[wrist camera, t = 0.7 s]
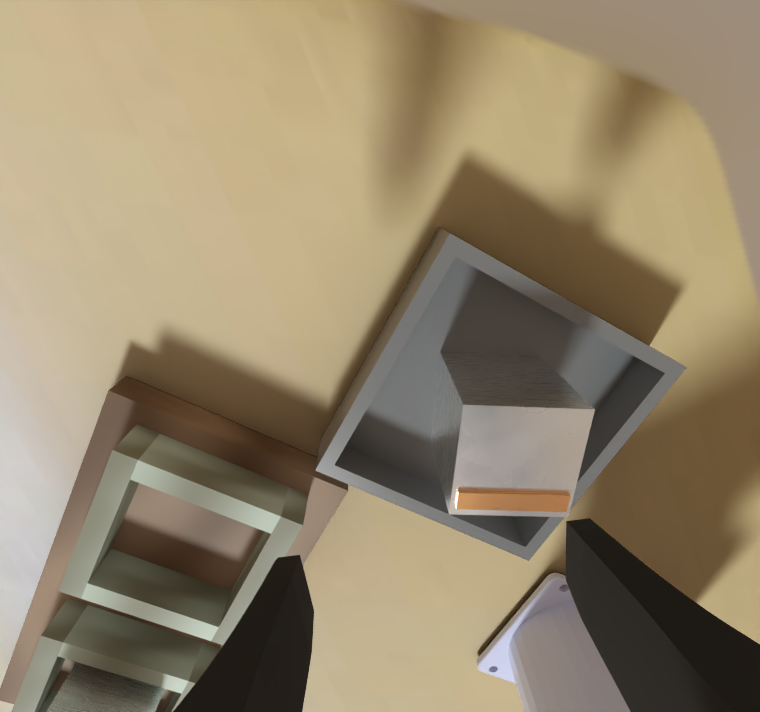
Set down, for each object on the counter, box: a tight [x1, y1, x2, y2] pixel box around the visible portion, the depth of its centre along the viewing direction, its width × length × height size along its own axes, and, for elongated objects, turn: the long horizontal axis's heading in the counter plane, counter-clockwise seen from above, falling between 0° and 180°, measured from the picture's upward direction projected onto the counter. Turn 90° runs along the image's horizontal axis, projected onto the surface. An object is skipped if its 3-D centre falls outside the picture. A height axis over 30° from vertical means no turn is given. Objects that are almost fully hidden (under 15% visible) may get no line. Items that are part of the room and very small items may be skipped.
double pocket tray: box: [0, 376, 348, 712], centre depth 23 cm, size 11×21×4 cm, turn 152°
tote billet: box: [431, 352, 595, 517], centre depth 18 cm, size 4×4×5 cm
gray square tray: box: [315, 227, 687, 561], centre depth 20 cm, size 11×11×2 cm
